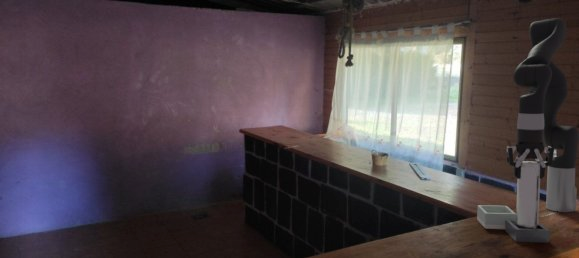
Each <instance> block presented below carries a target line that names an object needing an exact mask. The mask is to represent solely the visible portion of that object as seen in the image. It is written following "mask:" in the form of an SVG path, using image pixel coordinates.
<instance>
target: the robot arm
mask: <svg viewBox="0 0 579 258" xmlns="http://www.w3.org/2000/svg"><path fill="white" fill-rule="evenodd" d="M566 37H567V24H566V21H565V20H564V19H563V18H562V17H556V18H555V17H554V18H547V19H541V20H537V21H533V22H532V23H531V24H530V26H529V39H530V43H531V48H532V49H530V51H529V52H528V55H527V58H526V59H524V60H523V61H522V62H520V63H519V64H518V65H517V66H516V68H515V70H514V72H513V74H512V75H513V76H512V77H513V78H512V80H513V82H514V84H515V85H516V86H517V87H520V88H521V87H522V88H536V90H535V92H533V93H529V94H523V95H521V96H520V97H519V100H518V116H517V126H516V127H517V128H516V129H517V130H516V131H517V132H516V144H515V146H510V145H509V146H507V145H506V147H505V150H506V151H505V153H506V163H507V165H509V166H512V167H513V168H512V175H513V177H514V178H515V179H516V180H517V179H519V178H520V168H519V166H520V164H521V163H522V162H523V161H525V160H529V159H532V160H535V162H538V163H540V166H541V171H540V180H543V178H545V175H546V168H547V175H546V176H547V178H546V179H547V180H546V196H545V198H546V199H545V200H546V201H545V208H546V209H547V210H549V211H552V212H557V211H558V212H559V213H572V212H576V211H577V210H576V209H577V192H578V191H577V187H576V186H575V184H576V183H575V182H576V164H577V159H578V150H579V130H578V128H577V127H575V126H572V125H558V124H557V115H558V112H559V110H560V108H561V107H562V106H563V104H564V103H565V101H566V99H567V98H568V94H569V90H568V82H567V77H566V74H565V73H564V72H563V71H562V69H560V67H558V66H557V65H556V64H555V63H554V62H553V61H552V58H553V56H554V54H556V52H557V50H558V49H560V47H561V46H562V45H563V43H564V42H565V40H566ZM544 144H545V145H544ZM555 149H557V150H563V151H562V154H561V155H558V156H554V154H555ZM515 151H516V152H517V155H516V156H515V160H514V155H513V154H515ZM543 152H544V153H545V157H544V159H543V157H542V155H541V154H542V153H543Z"/></svg>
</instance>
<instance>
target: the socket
mask: <svg viewBox="0 0 579 258" xmlns="http://www.w3.org/2000/svg"><path fill="white" fill-rule="evenodd" d="M504 230H505V233H506V234H508V235H509V236H510V238H511V239H512V240H514V242H516V243H544V244H549V243H550V234H551V232H550V231H551V230H550V229H548V227H546V226H545V225H544V224H542V222H540V221H538V229H521V228H518V227H517V226H516V220H506V224H505V229H504Z"/></svg>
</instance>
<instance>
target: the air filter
mask: <svg viewBox="0 0 579 258" xmlns="http://www.w3.org/2000/svg"><path fill="white" fill-rule="evenodd" d="M519 168H520V178H519V179H516V180H517V184H516V207H515V208H516V209H515V210H516V211H515V213H516V226H517V227H518V228H521V229H538V222H539V217H540V216H539V215H540V214H539V213H540V212H539V211H540V191H541V190H540V188H541V179H540V171H541V166H540V163H538V162H537V161H529V160H526V161H525V160H524V161H523V162H522V163H521V164H520V166H519Z"/></svg>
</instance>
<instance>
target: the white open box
mask: <svg viewBox="0 0 579 258" xmlns="http://www.w3.org/2000/svg"><path fill="white" fill-rule="evenodd" d="M476 210H477V212H476V213H477V214H476V220H477V221H478V222H479V223H480V225H481V226H483V228H484V229H487V230H489V229H490V230H492V229H493V230H505V224H506V220H516V211H514V210H512V209H511V208H510V207H509V206H507V205H495V204H494V205H492V204H491V205H489V204H488V205H486V204H485V205H484V204H483V205H482V204H478V205H477V209H476Z"/></svg>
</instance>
